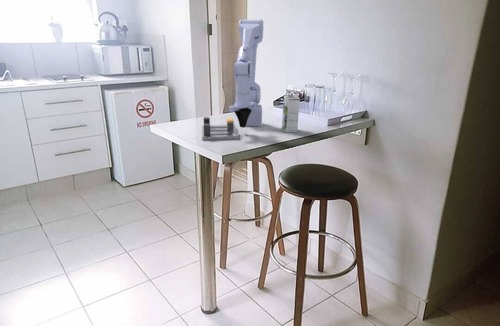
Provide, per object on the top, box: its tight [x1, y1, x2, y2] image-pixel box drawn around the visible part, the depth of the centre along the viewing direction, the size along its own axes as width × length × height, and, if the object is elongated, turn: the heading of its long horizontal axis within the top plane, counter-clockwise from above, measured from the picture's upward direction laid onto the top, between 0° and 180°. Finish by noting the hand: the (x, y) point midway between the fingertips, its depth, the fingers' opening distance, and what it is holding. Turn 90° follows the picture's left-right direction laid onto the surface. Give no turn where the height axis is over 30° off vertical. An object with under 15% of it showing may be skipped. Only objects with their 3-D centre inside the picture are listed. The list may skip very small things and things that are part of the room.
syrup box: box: [281, 94, 301, 133], centre depth 149 cm, size 6×6×14 cm
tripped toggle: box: [226, 118, 235, 131], centre depth 145 cm, size 2×3×4 cm
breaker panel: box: [201, 116, 240, 141], centre depth 145 cm, size 14×18×5 cm
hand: (242, 126), depth 146 cm, fingers closed
